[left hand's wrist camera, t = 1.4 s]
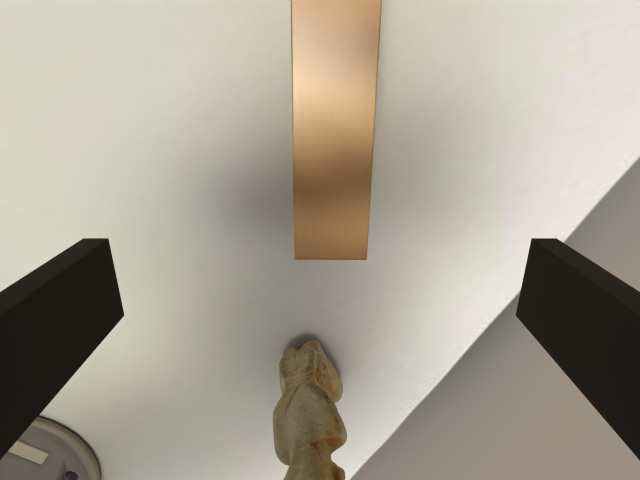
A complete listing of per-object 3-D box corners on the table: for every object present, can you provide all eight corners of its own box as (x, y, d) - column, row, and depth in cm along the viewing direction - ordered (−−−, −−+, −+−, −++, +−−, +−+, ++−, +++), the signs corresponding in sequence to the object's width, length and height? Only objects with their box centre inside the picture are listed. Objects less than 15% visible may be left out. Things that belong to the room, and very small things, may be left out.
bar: (355, 221, 34) (366, 260, 26) (300, 220, 34) (294, 259, 26) (373, -161, 25) (397, -272, 17) (296, -162, 25) (286, -274, 17)
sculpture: (296, 397, 41) (284, 561, 27) (270, 342, 38) (242, 490, 24) (350, 382, 40) (367, 542, 26) (327, 325, 37) (333, 467, 23)
